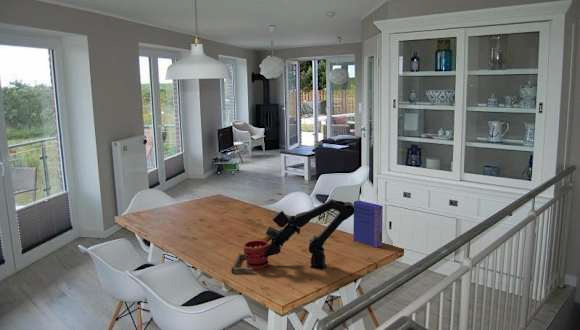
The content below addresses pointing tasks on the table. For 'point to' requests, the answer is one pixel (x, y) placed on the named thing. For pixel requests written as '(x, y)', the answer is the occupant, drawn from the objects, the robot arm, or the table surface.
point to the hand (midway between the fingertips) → (265, 253)
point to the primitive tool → (266, 238)
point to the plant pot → (256, 254)
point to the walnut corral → (241, 270)
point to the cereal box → (368, 223)
